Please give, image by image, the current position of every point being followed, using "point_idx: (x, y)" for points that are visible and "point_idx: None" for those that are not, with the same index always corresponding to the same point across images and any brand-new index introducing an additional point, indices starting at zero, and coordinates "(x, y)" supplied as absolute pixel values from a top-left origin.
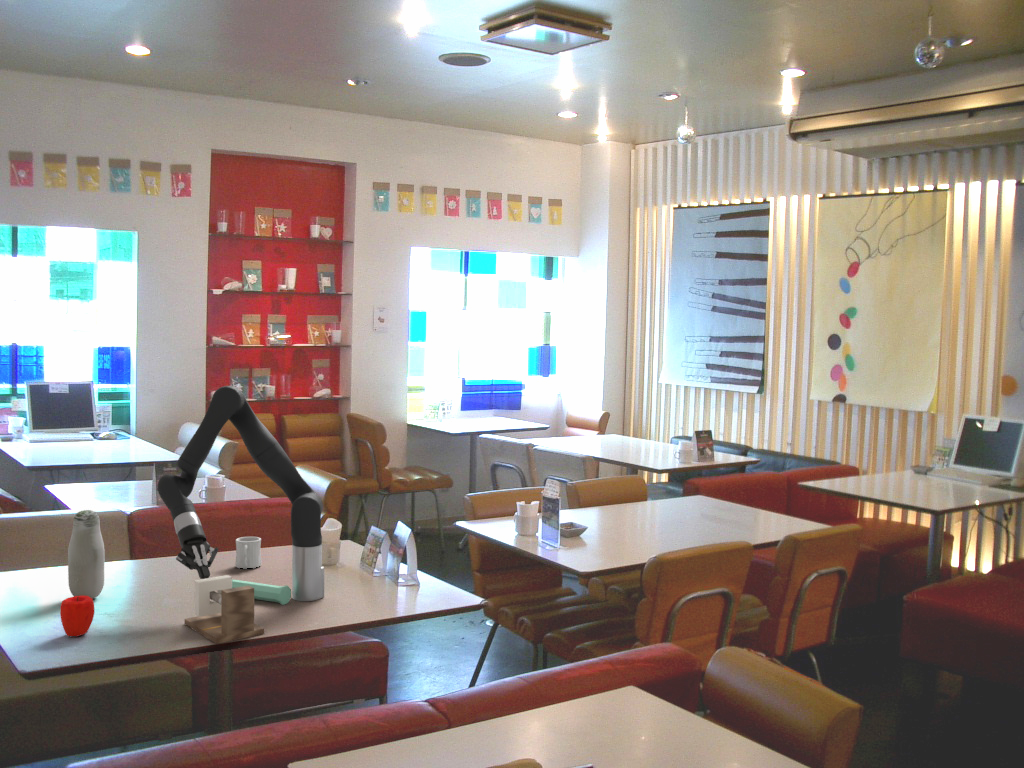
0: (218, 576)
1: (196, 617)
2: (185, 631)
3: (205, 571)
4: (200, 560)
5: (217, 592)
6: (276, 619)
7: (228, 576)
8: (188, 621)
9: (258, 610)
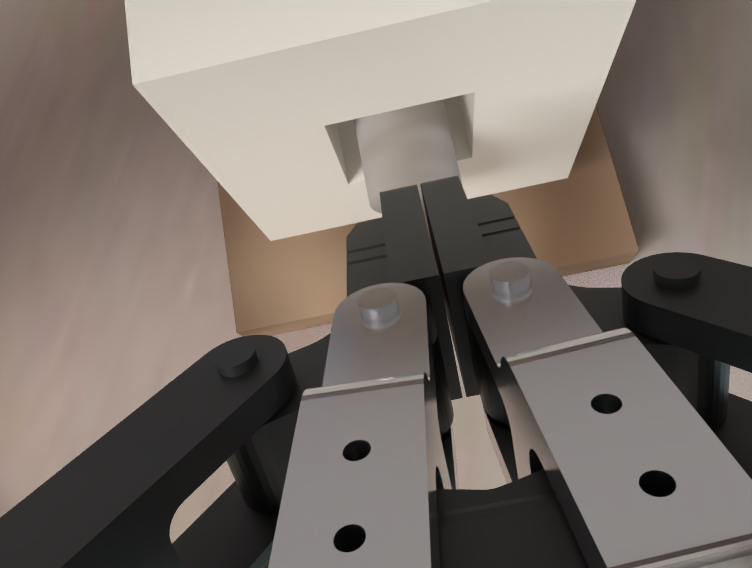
0: (273, 52)
1: (537, 248)
2: (643, 85)
3: (423, 219)
4: (493, 350)
5: (334, 146)
6: (13, 110)
7: (150, 4)
8: (615, 173)
9: (27, 375)
